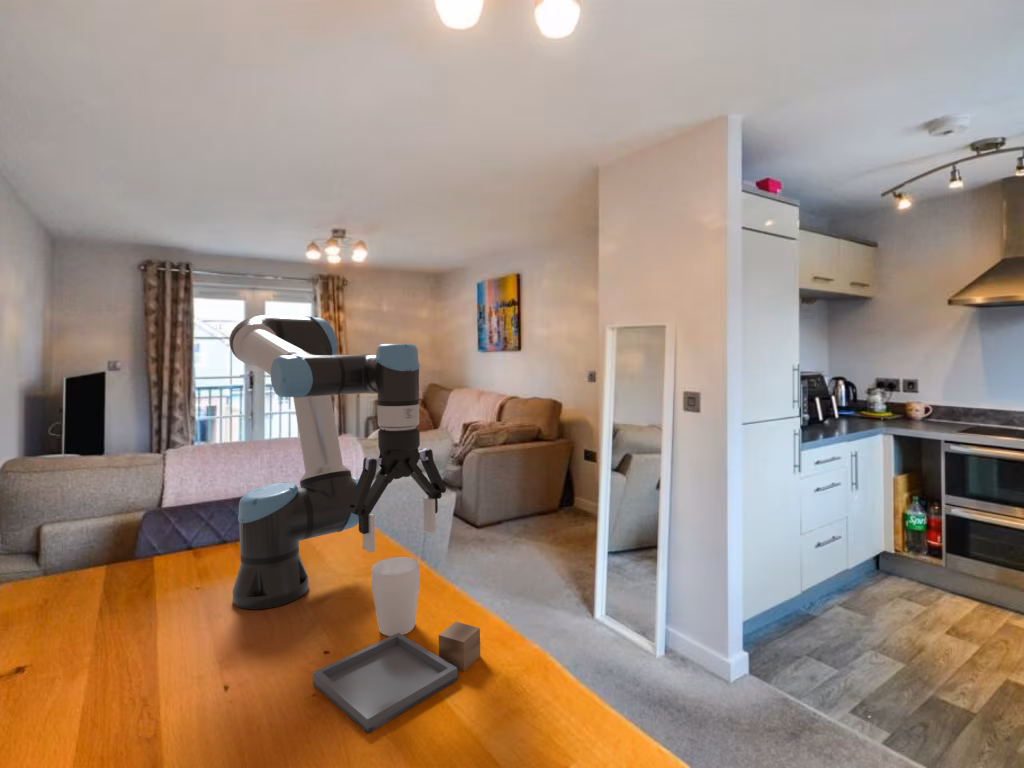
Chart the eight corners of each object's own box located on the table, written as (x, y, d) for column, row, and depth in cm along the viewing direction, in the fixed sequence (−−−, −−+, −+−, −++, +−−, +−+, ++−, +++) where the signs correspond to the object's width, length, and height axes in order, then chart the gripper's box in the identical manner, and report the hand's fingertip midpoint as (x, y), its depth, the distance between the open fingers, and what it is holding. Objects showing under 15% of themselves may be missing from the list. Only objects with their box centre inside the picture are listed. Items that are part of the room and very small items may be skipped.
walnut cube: (439, 664, 87) (438, 634, 87) (456, 649, 92) (455, 621, 91) (464, 672, 85) (463, 642, 85) (480, 656, 89) (479, 628, 89)
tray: (313, 684, 82) (312, 672, 82) (398, 643, 94) (398, 632, 93) (367, 733, 71) (367, 719, 71) (457, 680, 83) (457, 667, 82)
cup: (410, 642, 94) (408, 577, 93) (363, 637, 96) (361, 573, 95) (428, 618, 103) (426, 558, 102) (385, 614, 104) (383, 555, 104)
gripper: (348, 437, 85) (351, 565, 86) (462, 422, 103) (463, 527, 104) (325, 433, 90) (328, 553, 91) (438, 419, 108) (439, 520, 109)
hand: (400, 540), depth 98 cm, fingers open, 13 cm apart
